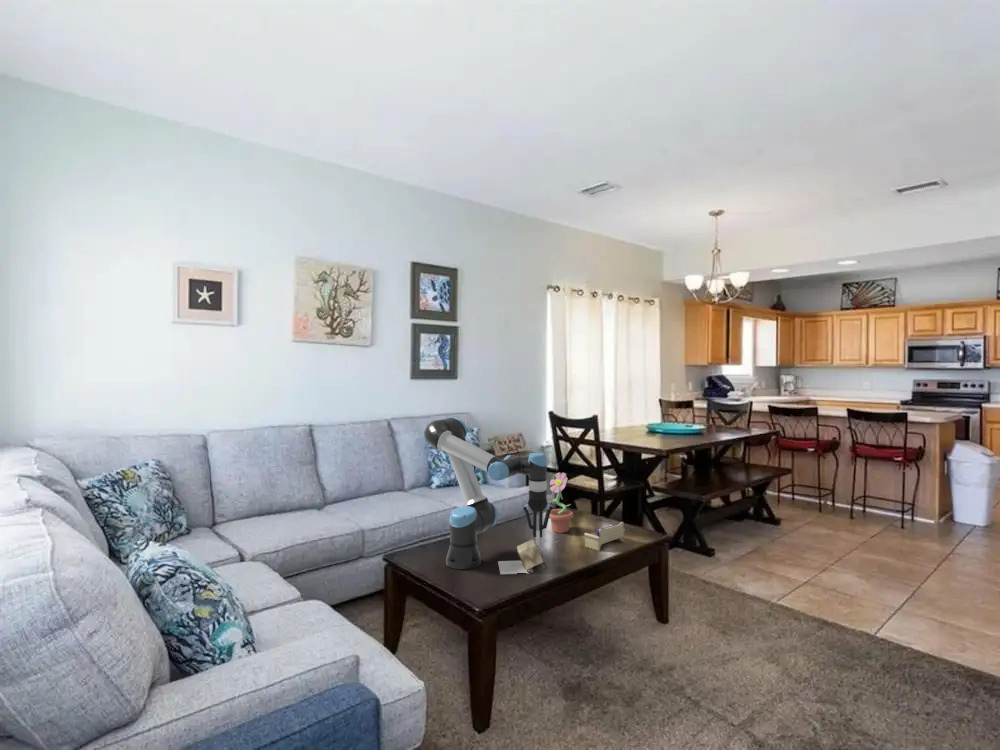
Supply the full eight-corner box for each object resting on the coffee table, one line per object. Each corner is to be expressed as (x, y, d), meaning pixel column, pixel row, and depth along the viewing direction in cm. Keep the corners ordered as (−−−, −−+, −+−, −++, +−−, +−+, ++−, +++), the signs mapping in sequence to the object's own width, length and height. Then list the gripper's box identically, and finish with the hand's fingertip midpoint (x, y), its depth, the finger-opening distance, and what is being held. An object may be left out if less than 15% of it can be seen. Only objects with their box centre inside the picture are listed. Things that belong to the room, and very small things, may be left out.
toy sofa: (610, 537, 278) (610, 517, 278) (625, 541, 272) (625, 520, 271) (583, 547, 264) (583, 525, 263) (598, 552, 257) (598, 530, 257)
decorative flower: (539, 529, 290) (539, 472, 289) (559, 524, 299) (559, 468, 298) (559, 536, 278) (559, 477, 277) (579, 531, 287) (579, 473, 286)
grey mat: (500, 574, 231) (500, 573, 231) (497, 561, 245) (497, 561, 245) (534, 573, 232) (534, 572, 232) (529, 560, 246) (529, 560, 246)
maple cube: (543, 562, 235) (525, 570, 235) (540, 555, 243) (523, 563, 243) (535, 545, 235) (517, 553, 234) (533, 538, 243) (515, 546, 242)
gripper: (551, 487, 242) (551, 541, 243) (521, 488, 241) (521, 542, 242) (554, 491, 235) (554, 547, 236) (523, 492, 234) (523, 548, 235)
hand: (537, 544), depth 239 cm, fingers closed
